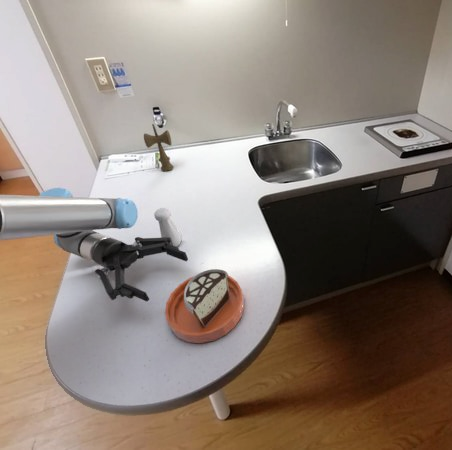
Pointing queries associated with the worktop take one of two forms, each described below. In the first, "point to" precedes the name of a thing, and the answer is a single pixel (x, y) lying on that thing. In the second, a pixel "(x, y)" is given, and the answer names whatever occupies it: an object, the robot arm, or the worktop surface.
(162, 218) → the salt shaker
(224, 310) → the bowl
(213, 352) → the worktop surface
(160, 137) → the kendama
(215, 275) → the food container
